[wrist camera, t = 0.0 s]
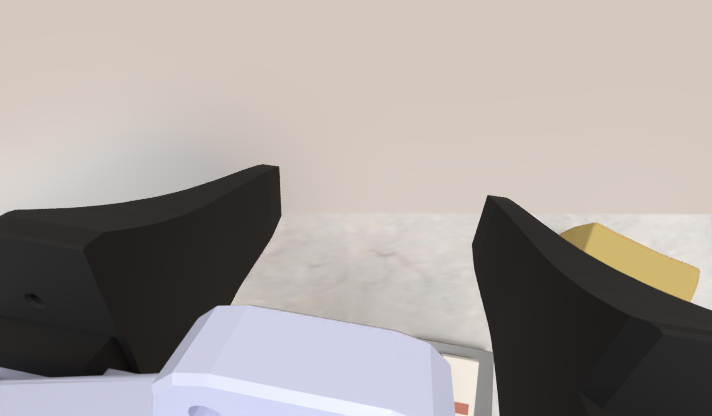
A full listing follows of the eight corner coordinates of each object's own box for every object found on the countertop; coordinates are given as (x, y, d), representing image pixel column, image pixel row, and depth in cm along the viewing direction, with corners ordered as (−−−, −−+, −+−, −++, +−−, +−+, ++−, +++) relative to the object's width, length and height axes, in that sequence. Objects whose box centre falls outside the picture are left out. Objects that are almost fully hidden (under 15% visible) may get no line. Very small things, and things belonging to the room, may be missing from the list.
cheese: (601, 360, 39) (675, 372, 29) (512, 309, 41) (554, 305, 32) (629, 281, 42) (706, 269, 32) (545, 237, 44) (593, 213, 34)
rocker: (470, 415, 35) (473, 420, 34) (435, 408, 35) (436, 413, 34) (476, 359, 35) (479, 362, 34) (441, 353, 36) (443, 356, 35)
